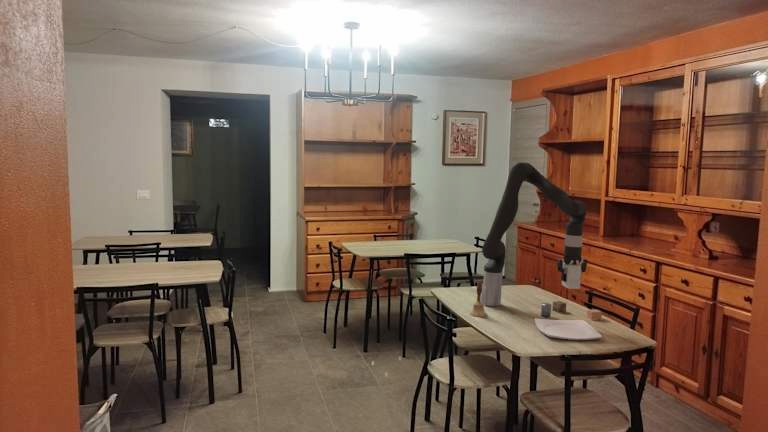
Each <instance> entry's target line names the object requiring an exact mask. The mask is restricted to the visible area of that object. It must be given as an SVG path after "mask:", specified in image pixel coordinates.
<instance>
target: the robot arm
mask: <svg viewBox="0 0 768 432" xmlns="http://www.w3.org/2000/svg"><path fill="white" fill-rule="evenodd" d="M524 182H527V183H529V184H531V185H532V186H534V187H536V188H537V189H538V190H539V191H540V193H541V194H542V195H543V196H544V197H545V198H546V199H548V201H550V202H551V203H553V204H555V205H557V207H558V209H560V210H561V211H562V212H563V213H564V214H565V215H567V216H569V217H570V218H569V221H568V222H567V223H566V226H565V236H564V248H563V258H557V259H556V264H557V271H558V272H559V273H560V274H561V282H562V281H564V282H566V278H567V274H566V273H567V269H568V266H567V267H566V266H565V265H580V263H581V265H580V266H581V274H582V273H585V272H587V271H586V270H587V266H588V262H589V261H588V259H587V258H582V255H583V254H582V253H583V231H584V230H583V229H584V227H583V226H584V223H585V221H586V217H587V205H586V203H585V202H584V201H582V200H573V199H572V198H570V196H569V194H568V193H567V192H566V191H565V190H563V189H562V188H560V187H559V186H557V185H555V184H554V183H552V182H551V181H550V180H548V179H547V178H546V177H545V176H544V175H543V174H542V173H541V172H539V171H538V170H537V168H535V167H534V166H533V165H532V164H531V163H530V162H520V161H519V162H515V163H514V164H513V165H512V166H511V168H510V169H509V173H508V178H507V181H506V185H505V188H504V191H503V193H502V197H501V199H500V202H499V204H498V208H497V210H496V214H495V217H494V218H493V219H494V220H492V221H493V222H492V225H491V228H490V230H489V233H488V234H487V235H486V238H485V240H484V242H483V245H482V248H481V249H482V250H481V252H482V255H483V257H484V258H485V259H487V260H488V261H487V262H486V263H485V265H484V267H483V284H482V292H481V300H480V301H481V303H483V306H485V307H500V306H501V304H502V303H501V302H502V290H503V289H502V287H503V285H502V284H503V269H504V267H505V264H506V263H505V261H506V252H507V250H506V245H505V243H504V242H503V241H502V238H503V236H504V234H505V233H506V232H507V231H508V230H509V228H510V227H511V226H512V224H513V223H514V221H515V219H516V216H517V214H518V211H519V193H520V190H521V187H522V186H523V183H524ZM563 263H565V264H564V266H563ZM581 279H582V278H581ZM581 279H580V281H581Z"/></svg>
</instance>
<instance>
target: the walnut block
mask: <svg viewBox="0 0 768 432" xmlns="http://www.w3.org/2000/svg"><path fill="white" fill-rule="evenodd" d="M552 311H553V312H555V313H558V314H562V312H563V313H566V312H567V303H566V302H564V301H560V300H558V301H552Z"/></svg>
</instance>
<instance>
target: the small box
mask: <svg viewBox="0 0 768 432" xmlns="http://www.w3.org/2000/svg"><path fill="white" fill-rule="evenodd" d="M564 264H565V262H563V266H564ZM565 266H566V267H567V266H568V269H567V273H566V274H567V278H566V282H564V281H562V280H561V285H562V286H563V287H565V288H566V289H569V290H570V289H572V290H573V289H575V290H579V289H581V280H580V279H582V278H581V277H582V273H581V265H565Z"/></svg>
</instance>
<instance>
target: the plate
mask: <svg viewBox="0 0 768 432" xmlns="http://www.w3.org/2000/svg"><path fill="white" fill-rule="evenodd" d="M534 321H535V326H536V327H537V329H538V330H539V331H540V332H541V333H542V334H544V335H546V336H548V337H549V338H555V339H561V340H566V339H568V340H567V341H586V340H587V341H590V340H599V339H601V338H603V335H601V333H599V332H598V331H597V330H596V329H595V328H593V327H592V326H591V325H590V324H588V323H587V322H586V321H585V320H583V319H581V320H579V319H577V320H575V319H573V320H565V319H563V320H562V319H548V318H545V319H544V318H534Z"/></svg>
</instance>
